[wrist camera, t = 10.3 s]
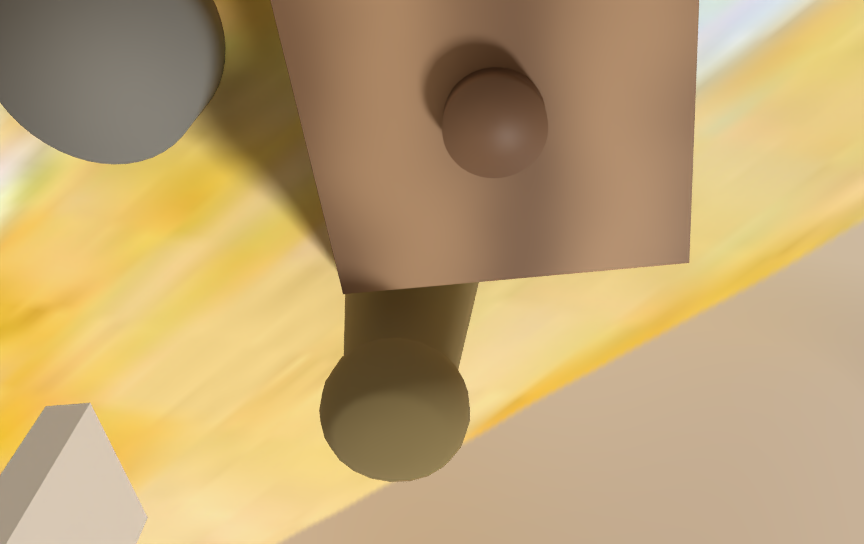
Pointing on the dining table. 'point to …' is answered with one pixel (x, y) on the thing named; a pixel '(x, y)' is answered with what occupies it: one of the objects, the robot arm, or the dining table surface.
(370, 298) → the pepper shaker
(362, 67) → the lid
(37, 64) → the grey flattened dome
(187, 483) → the dining table surface
